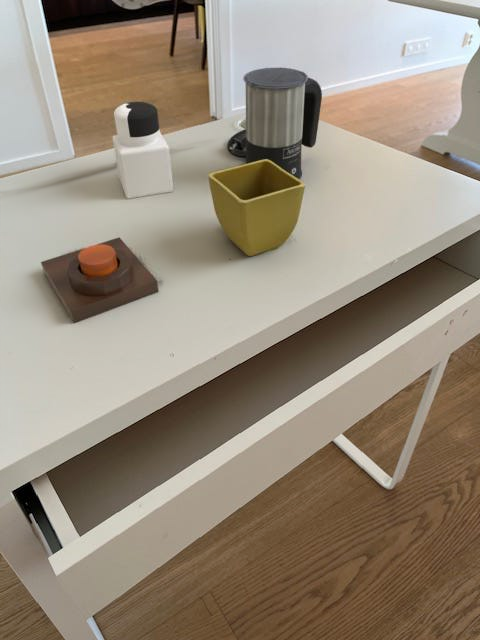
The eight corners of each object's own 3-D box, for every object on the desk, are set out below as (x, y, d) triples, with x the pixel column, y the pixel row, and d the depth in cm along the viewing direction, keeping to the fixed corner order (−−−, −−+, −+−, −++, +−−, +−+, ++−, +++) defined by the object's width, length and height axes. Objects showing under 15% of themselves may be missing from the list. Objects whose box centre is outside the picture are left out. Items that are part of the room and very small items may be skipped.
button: (76, 264, 58) (73, 251, 57) (109, 253, 59) (107, 240, 58) (88, 282, 55) (85, 268, 54) (123, 270, 57) (120, 257, 56)
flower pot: (209, 236, 68) (206, 172, 62) (266, 219, 71) (267, 157, 65) (242, 270, 62) (241, 202, 56) (302, 249, 65) (307, 184, 59)
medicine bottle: (164, 172, 82) (155, 95, 75) (174, 192, 77) (165, 111, 69) (119, 179, 81) (105, 101, 73) (126, 199, 76) (112, 117, 68)
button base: (44, 273, 62) (36, 249, 60) (121, 248, 66) (117, 224, 64) (74, 323, 55) (66, 298, 52) (158, 292, 59) (155, 267, 56)
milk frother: (285, 194, 76) (291, 90, 67) (197, 172, 82) (190, 73, 73) (322, 159, 86) (332, 63, 76) (241, 141, 92) (240, 50, 82)
